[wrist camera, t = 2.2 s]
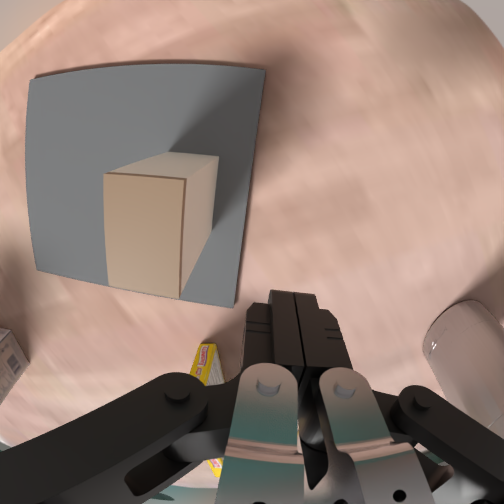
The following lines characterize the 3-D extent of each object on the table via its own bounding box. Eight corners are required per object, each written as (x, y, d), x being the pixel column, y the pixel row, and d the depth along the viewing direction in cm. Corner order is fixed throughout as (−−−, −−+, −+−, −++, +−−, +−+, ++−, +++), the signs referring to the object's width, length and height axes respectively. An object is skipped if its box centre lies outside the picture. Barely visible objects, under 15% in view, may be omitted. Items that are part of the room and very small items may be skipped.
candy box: (196, 341, 30) (178, 404, 22) (216, 341, 30) (203, 405, 22) (221, 428, 36) (214, 478, 29) (236, 428, 36) (231, 479, 28)
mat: (265, 70, 19) (265, 69, 19) (233, 305, 27) (233, 308, 27) (33, 79, 19) (29, 79, 19) (39, 268, 27) (36, 270, 27)
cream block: (219, 156, 22) (183, 180, 13) (211, 231, 24) (178, 299, 15) (167, 151, 22) (103, 173, 12) (163, 224, 24) (108, 286, 15)
